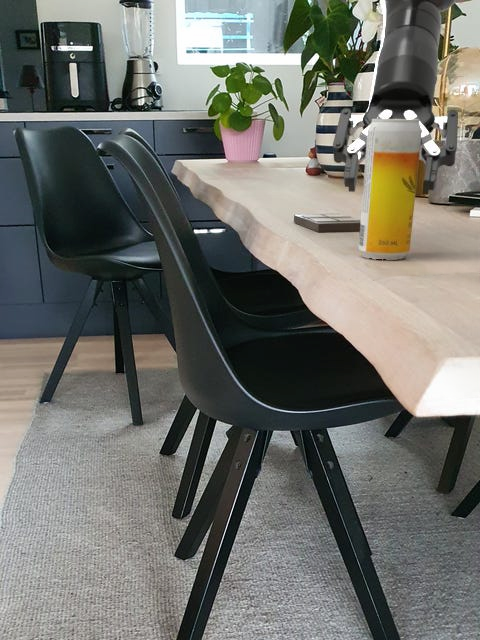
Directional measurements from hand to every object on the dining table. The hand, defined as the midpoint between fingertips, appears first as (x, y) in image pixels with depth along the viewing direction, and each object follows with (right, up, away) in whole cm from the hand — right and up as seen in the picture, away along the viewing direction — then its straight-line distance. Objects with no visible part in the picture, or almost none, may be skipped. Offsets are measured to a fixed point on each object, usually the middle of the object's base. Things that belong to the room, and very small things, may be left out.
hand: (388, 188), depth 92 cm
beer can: (0, -7, +5) cm, 8 cm away
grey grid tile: (-4, +5, +28) cm, 29 cm away
